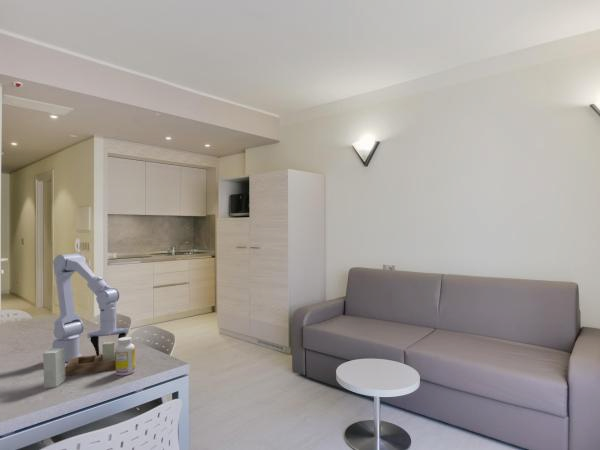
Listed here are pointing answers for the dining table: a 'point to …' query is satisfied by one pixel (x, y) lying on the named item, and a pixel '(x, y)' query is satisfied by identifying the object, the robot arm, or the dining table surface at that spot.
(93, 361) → the walnut rail
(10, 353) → the dining table surface
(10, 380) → the dining table surface
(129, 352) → the supplement bottle
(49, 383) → the skincare box
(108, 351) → the sage peg
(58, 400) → the dining table surface
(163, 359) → the dining table surface
